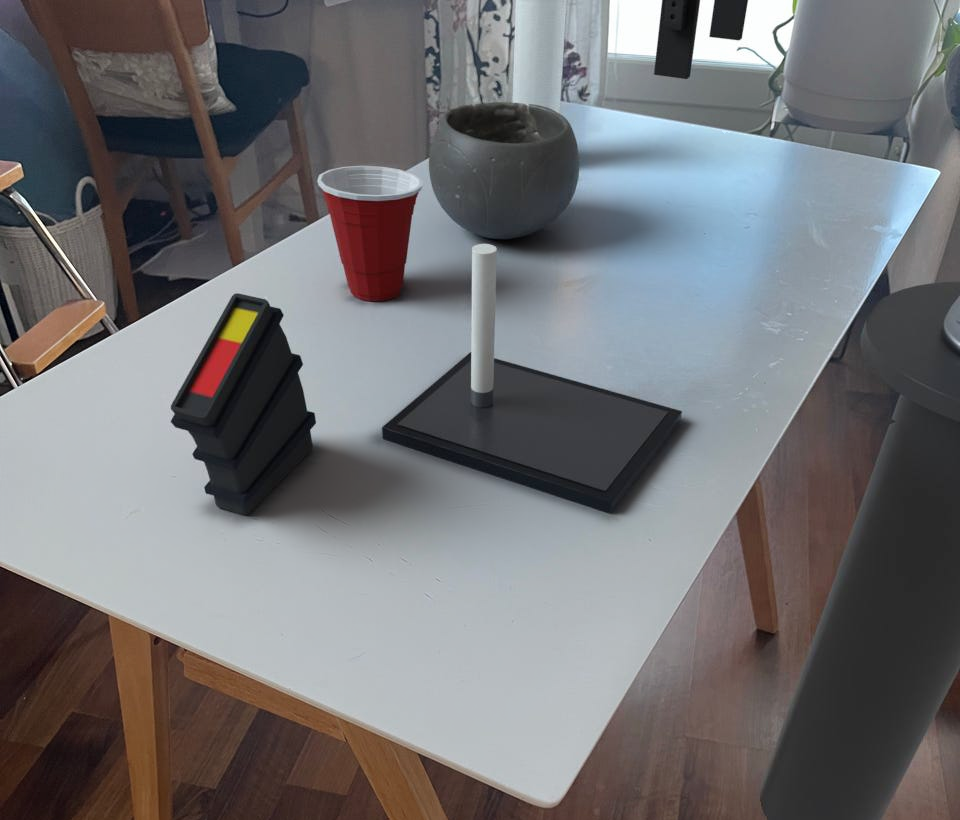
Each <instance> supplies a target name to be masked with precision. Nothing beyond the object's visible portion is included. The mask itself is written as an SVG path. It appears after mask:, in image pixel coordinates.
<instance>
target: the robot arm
mask: <svg viewBox="0 0 960 820" xmlns="http://www.w3.org/2000/svg"><path fill="white" fill-rule="evenodd" d="M748 3H749V0H714V1H713V8H712V15H711V22H710V29H709V38H715V39H723V40H731V41H742V39H743V34H744V29H745V21H746V16H747V11H748ZM700 4H701V0H661V7H660V16H659V26H658V35H657V44H656V51H655V61H654V71H653V75H654V76H661V77H668V78H675V79H682V80H688V79H689V78H690V77H691V72H692V65H693V64H692V63H693V59H694V58H693V56H694V49H695V43H696V35H697V34H696V33H697V29H698V28H697V27H698V19H699V13H700V11H699V10H700ZM941 337H942V339H943V341H944V343H945V344H946V345H947V346H948V347H949V349H950V350H952V351H953V352H954V353H955V354H957V355H958V356H959V357H960V296H959V297H958V298H957V300H956V301H955V302H954V304H953V305H952V306H951V308H950V310H949V311H948V313H947V315H946V317H945V320H944V323H943V325H942V328H941Z"/></svg>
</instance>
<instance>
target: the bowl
mask: <svg viewBox="0 0 960 820" xmlns="http://www.w3.org/2000/svg"><path fill="white" fill-rule="evenodd" d="M428 173H429V180H430V185H431V188H432V191H433V193H434V196H435V199H436V200H437V202H438V204H439V206H440V207H441V208H442V210H443V211H444V212H445V213H446V215H447V216H448V217H449V218H450V219H451V220H452V221H453V222H454V223H456V224H457V225H458V226H459V227H461V228H463V230H466V231H468V232H470V233H472V234H474V235H476V236H480V237H483V238H487V239H491V240H492V239H493V240H513V239H518V238H522V237H526V236H528V235H531V234H534V233H536V232H538V231H540V230H542V229H543V228H546V227H547V226H548V225H550V224H551V223H553V222H554V221H555V220H556V219H558V217H560V215H562V213H563V212H564V211H565V210H566V209H567V207H568V206H569V205H570V203H571V201H572V199H573V197H574V195H575V193H576V189H577V185H578V181H579V177H580V176H579V175H580V155H579V146H578V141H577V138H576V135H575V132H574V130H573V127H572V125H571V123H570V122H569V120H568V119H567V117H565V116H564V115H562V114H561V113H560V114H559V113H557V112H556V111H554V110H552V109H550V108H547V107H543V106H539V105H534V104H529V106H527V105H526V104H523V103H513V102H510V101H500V102H499V101H493V102H492V101H491V102H482V103H476V104H474V105H473V104H463V105H459V106H457V107H453V108H450V109H449V110H448V111H446V112H445V113H443V115H442V116H441V118H440V120H439V122H438V123H437V126H436V127H435V131H434V133H433V137H432V140H431V144H430V149H429V155H428Z"/></svg>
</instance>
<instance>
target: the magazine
mask: <svg viewBox="0 0 960 820" xmlns="http://www.w3.org/2000/svg"><path fill="white" fill-rule="evenodd" d="M283 318H284V313H283V311H282V309H281V308H279V307H276V306H271V305H270V302H269V300H267V299H266V298H261V297H256V296H252V295H247V294H242V293H238V292H237V293H234V294H233V295H231V297H230V299H229V301H228V302H227V304H226V306H225V308H224V310H223V311H222V313H221V315H220V316H219V319H218V321H217V322H216V324H215V326H214V328H213V329H212V331H211V333H210V335H209V336H208V338H207V340H206V342H205V344H204V345H203V347H202V348H201V351H200V352H199V354H198V356H197V357H196V359H195V361H194V364H193V365H192V367H191V369H190V371H188V374H187V376H186V377H185V379H184V381H183V383H182V385H181V386H180V389H179V390H178V392H177V394H176V396H175V398H174V399H173V401H172V403H171V404H170V410H171V412H173V416H172V418H171V420H170V423H171V424H172V425H173V427H174V428H175V429H179V430H183V431H187V432H188V434H190V436H191V437H192V440H193V441H194V443H195V445H196V447H195V448H194V451H193V452H192V457H193V459H194V460H197V461H201V462H203V464H204V466H205V469H206V471H207V475H208V478H209V481H208V482H206V484H205V485H204V486H203V488H204V493H205V494H206V495H210V496H213V499H214V503H215V506H216V507H217V508H219V509H221V510H226V511H229V512H233V513H236V514H240V515H243V516H248V515H249V514H250V513H251V512H252V511H253V510H254V509H255V508H256V507H257V506H258V505H259V504H260V503H261V502H262V501H263V500H264V499H265V498H267V496H268V495H269V494H270V493H271V492H272V491H273V490H274V489H275V488H276V487H277V486H278V485H279V484H281V482H282V481H283V480H284V479H285V478H286V477H287V476H288V475H289V474H290V473H291V472H292V471H293V470H294V469H295V468H296V467H297V466H298V465H299V464H300V463H302V461H303V460H305V458H306V457H307V456H308V455H309V454H310V453H311V452H312V451H313V448H314V446H313V444H314V443H313V438H312V431H311V430H312V429H313V428H314V426H316V424H317V420H316V413H315V412H314V411H310V410H308V408H307V401H306V398H305V392H304V388H303V384H302V381H301V378H300V374H299V372H300V371H301V369H302V367H303V366H304V362H303V360H302V359H303V358H302V357H301V355H300V354H296V353H293V352H292V349H291V347H290V344H289V342H288V338H287V335H286V333H285V332H284V329H283V328H282V326H281V324H280V323H281V321H282V320H283Z"/></svg>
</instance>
